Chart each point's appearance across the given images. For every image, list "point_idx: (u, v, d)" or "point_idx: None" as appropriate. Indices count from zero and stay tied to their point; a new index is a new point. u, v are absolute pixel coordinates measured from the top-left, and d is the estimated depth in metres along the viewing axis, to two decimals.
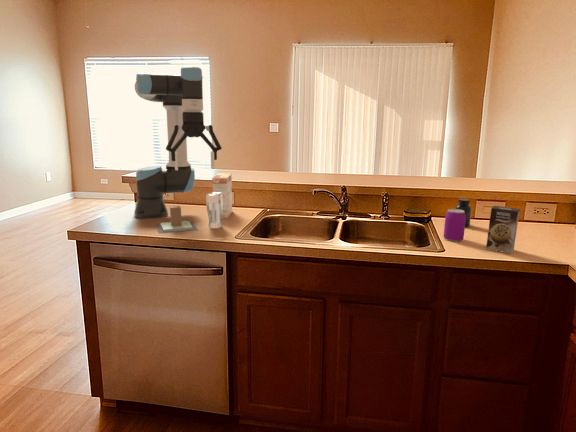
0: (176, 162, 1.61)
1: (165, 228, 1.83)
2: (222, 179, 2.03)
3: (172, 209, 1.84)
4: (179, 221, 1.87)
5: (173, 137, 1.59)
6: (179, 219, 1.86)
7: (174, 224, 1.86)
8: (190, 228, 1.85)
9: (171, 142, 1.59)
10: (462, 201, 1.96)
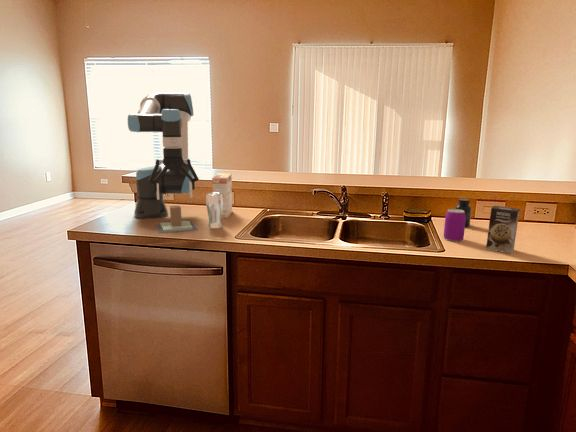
0: (158, 192, 1.81)
1: (165, 228, 1.83)
2: (222, 179, 2.03)
3: (172, 209, 1.84)
4: (179, 221, 1.87)
5: (155, 170, 1.79)
6: (179, 219, 1.86)
7: (174, 224, 1.86)
8: (190, 228, 1.85)
9: (153, 175, 1.79)
10: (462, 201, 1.96)
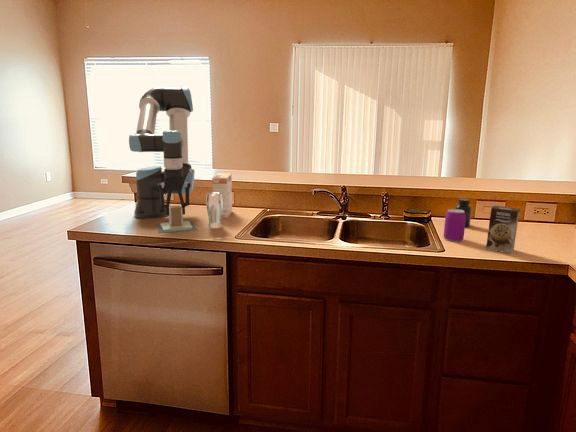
0: (170, 217, 1.85)
1: (165, 228, 1.83)
2: (222, 179, 2.03)
3: (172, 209, 1.84)
4: (179, 221, 1.87)
5: (162, 195, 1.82)
6: (179, 219, 1.86)
7: (174, 224, 1.86)
8: (190, 228, 1.85)
9: (162, 199, 1.83)
10: (462, 201, 1.96)
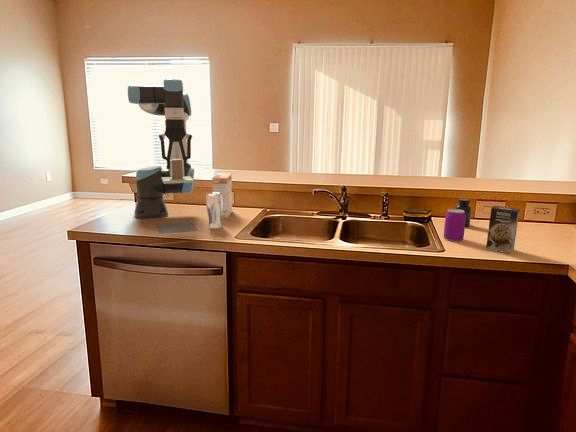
0: (171, 169, 1.81)
1: (166, 180, 1.78)
2: (222, 179, 2.03)
3: (173, 161, 1.80)
4: (180, 174, 1.82)
5: (162, 146, 1.78)
6: (180, 172, 1.82)
7: (175, 177, 1.81)
8: (191, 181, 1.80)
9: (163, 151, 1.78)
10: (462, 201, 1.96)
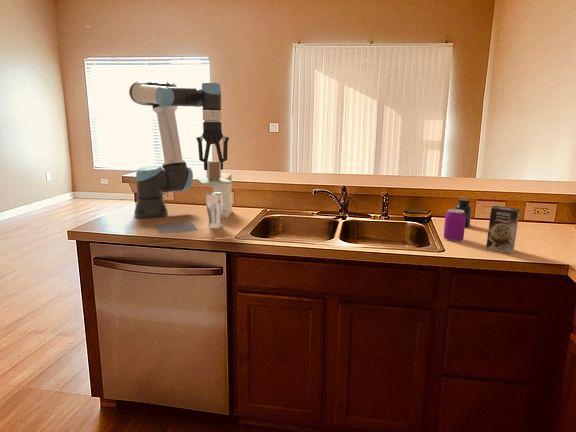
0: (208, 171, 1.83)
1: (204, 182, 1.80)
2: None
3: (210, 163, 1.82)
4: (217, 176, 1.84)
5: (200, 148, 1.80)
6: (217, 174, 1.84)
7: (212, 179, 1.84)
8: (229, 182, 1.82)
9: (201, 153, 1.80)
10: (462, 201, 1.96)
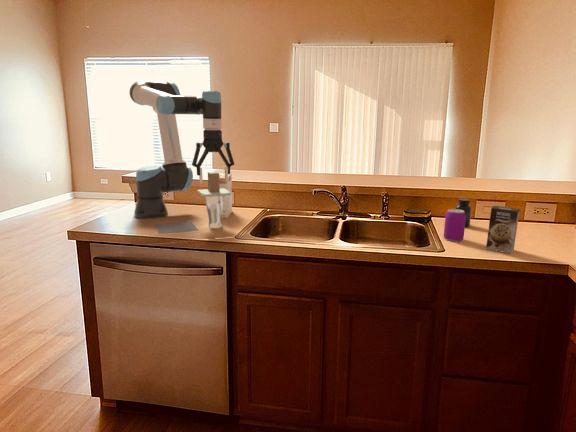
0: (201, 176, 1.83)
1: (204, 193, 1.81)
2: (222, 179, 2.03)
3: (210, 175, 1.83)
4: (217, 187, 1.85)
5: (197, 154, 1.80)
6: (217, 185, 1.85)
7: (212, 190, 1.85)
8: (229, 194, 1.84)
9: (196, 158, 1.80)
10: (462, 201, 1.96)
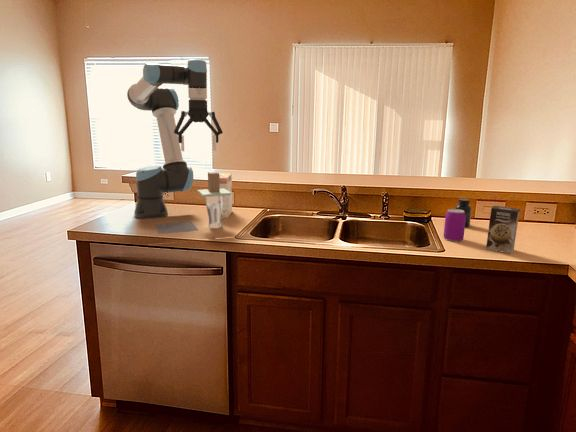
0: (183, 144, 1.83)
1: (204, 193, 1.81)
2: (222, 179, 2.03)
3: (211, 175, 1.83)
4: (217, 187, 1.85)
5: (180, 122, 1.80)
6: (217, 185, 1.85)
7: (212, 190, 1.85)
8: (229, 194, 1.84)
9: (178, 126, 1.80)
10: (462, 201, 1.96)
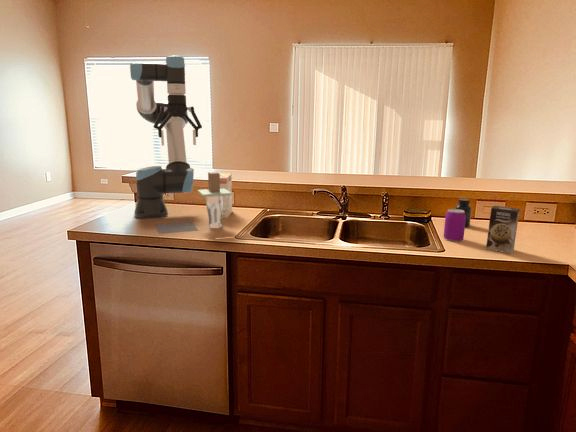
0: (162, 138, 1.87)
1: (204, 193, 1.81)
2: (222, 179, 2.03)
3: (211, 175, 1.83)
4: (217, 187, 1.85)
5: (159, 116, 1.85)
6: (217, 185, 1.85)
7: (213, 190, 1.85)
8: (229, 194, 1.84)
9: (158, 121, 1.85)
10: (462, 201, 1.96)
